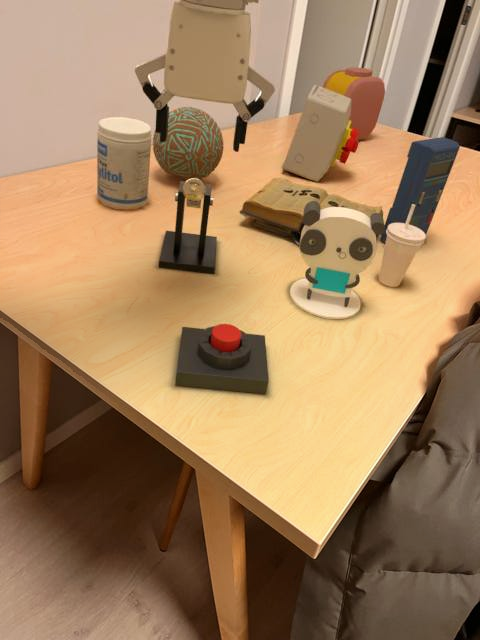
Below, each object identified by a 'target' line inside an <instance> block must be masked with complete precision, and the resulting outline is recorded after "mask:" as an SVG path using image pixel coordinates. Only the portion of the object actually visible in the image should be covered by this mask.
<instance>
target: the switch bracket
mask: <svg viewBox="0 0 480 640" xmlns="http://www.w3.org/2000/svg"><path fill="white" fill-rule="evenodd" d="M185 182H186V181H182V180H179V187H178V191H176V192H175V195H174V201H175V202H177V203H176V213H175V214H176V216H175V229H174V231H173V230H165V233H164V237H163V241H162V246H161V251H160V255H159V259H158V268H162V269H170V270H178V271H179V270H180V271H188V272H196V273H202V274H203V273H204V274H211V275H212V274H213V275H214V274H215V272H216V261H217V260H216V259H217V242H218V241H217V240H218V239H217V236H215V235H207V232H208V223H209V214H210V207H213V206H214V199H215V198H214V196H212V185H211V184H204V185H205V190H206V191H205V195H204V197H203V203H202V211H201V213H202V214H201V221H200V228H199V229H200V231H199V234H198V233H189V232H183V229H184V219H185V218H184V217H185V207H186V198H185V196H184V194H183V185H184V183H185Z"/></svg>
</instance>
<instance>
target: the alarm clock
mask: <svg viewBox="0 0 480 640" xmlns="http://www.w3.org/2000/svg"><path fill="white" fill-rule="evenodd" d="M373 73H374V71H373V70H372V69H370V68H366V67H347V68H345V69H338V70H334V71H333V72H331V73H330V74H329V75H328V76H327V77H326V79H325V81H324V82H323V85H322V87H323V88H325V89H328V90H330V91H333V92H336V93H338V94H341V95H343V96H346V97H348V98H350V99H351V115H350V118H349V120H350V121H351V124H350V127H349V128H350V129H353V128H355V129H357V130H359V132H358V135H357V137H356V140H357V141H363V140H364V139H366V138H368V137H369V136H370V135H371V134H372V133H373V131H374V130H375V128H376V126H377V123H378V120H379V117H380V114H381V111H382V107H383V103H384V100H385V96H386V87H385V82H384V80H383V79H382V78H381V77H379V76H373Z"/></svg>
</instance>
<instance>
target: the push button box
mask: <svg viewBox="0 0 480 640" xmlns="http://www.w3.org/2000/svg"><path fill="white" fill-rule="evenodd" d="M215 326H216V325H214V326H209V327H206V328H198V327H191V326H190V327H189V326H182V328H181V334H180V342H179V347H178V348H179V349H178V355H177V356H178V357H177V363H176V364H177V365H176V371H175V372H176V373H175V383H174V385H175V386H176V387H177V386H178V387H180V386H181V387H189V388H199V389H210V390H220V391H229V392H241V393H250V394H251V393H252V394H261V395H266V394H267V390H268V386H269V382H270V381H269V380H270V379H269V369H268V357H267V345H266V344H267V343H266V335H265V334H255V333H246V332H244V331H243V330H241V329H239V330H240V331H241V340H240V345H239V348H238V349H237V350H236V351H233V352H221V351H219V350H217V349H215V348H213V347H212V345H211V335H212V329H213V328H214V327H215Z"/></svg>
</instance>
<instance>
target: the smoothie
mask: <svg viewBox="0 0 480 640" xmlns="http://www.w3.org/2000/svg"><path fill="white" fill-rule="evenodd" d="M414 208H415V205H414V204H412V206H411V209H410V212H409V214H408V217H407V220H406V223H392V224H390V225H388V228H387V230H386V233H387V238H386V243H384V247H383V248H384V249H383V252H382V253H383V254H382V259H381V263H380V269H379V274H378V281H379V282H380V283H381V284H382V285H384V286H386V287H390V288H396V287H399V286H400V284H401V283H402V281H403V279H404V277H405V275H406V274H407V271H408V269H409V268H410V267H411V264H412V262H413V260H414V258H415V257H416V255H417V253H418V252H419V249H420V247H421V245H423V244H425V242H426V238H427V234H425V233H424V232H423V231H422V230H421V229H419V228H417V227H415V226H412V225H409V222H410V219H411V217H412V214H413V211H414Z"/></svg>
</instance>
